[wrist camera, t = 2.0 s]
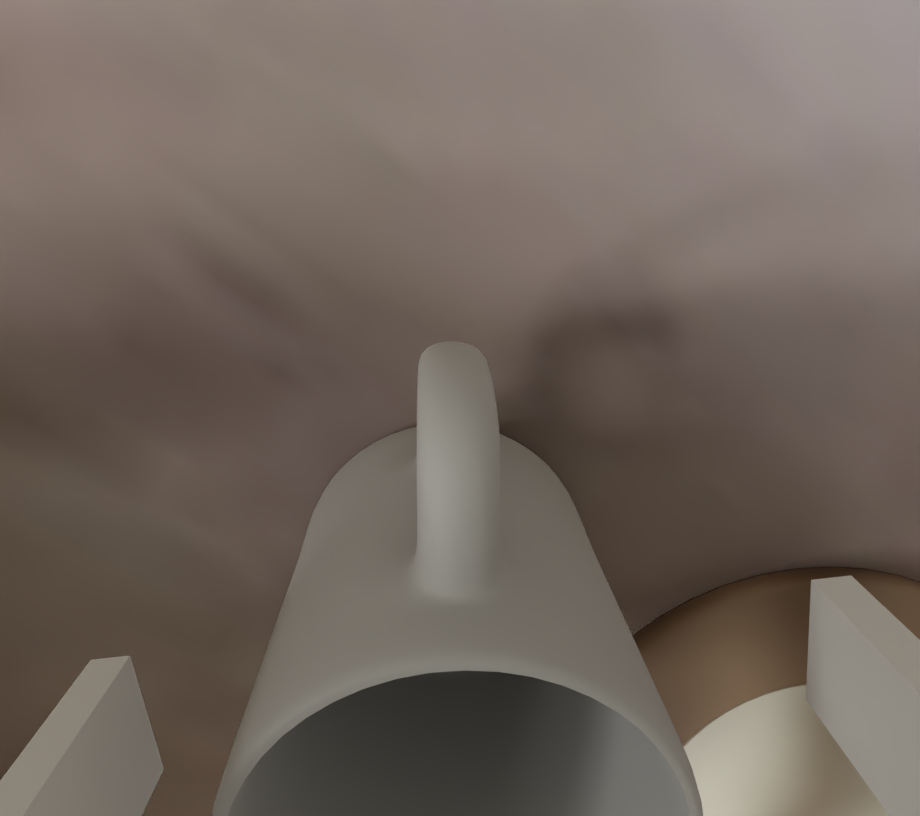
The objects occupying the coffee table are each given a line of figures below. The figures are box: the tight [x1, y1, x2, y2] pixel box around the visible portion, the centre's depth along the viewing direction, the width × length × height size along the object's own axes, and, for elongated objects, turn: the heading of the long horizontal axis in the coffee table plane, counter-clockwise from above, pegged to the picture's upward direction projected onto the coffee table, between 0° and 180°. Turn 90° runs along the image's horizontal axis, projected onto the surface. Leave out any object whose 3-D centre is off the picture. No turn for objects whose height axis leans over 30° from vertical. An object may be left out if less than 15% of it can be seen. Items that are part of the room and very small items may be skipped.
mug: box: [212, 341, 703, 816], centre depth 16 cm, size 12×8×11 cm
